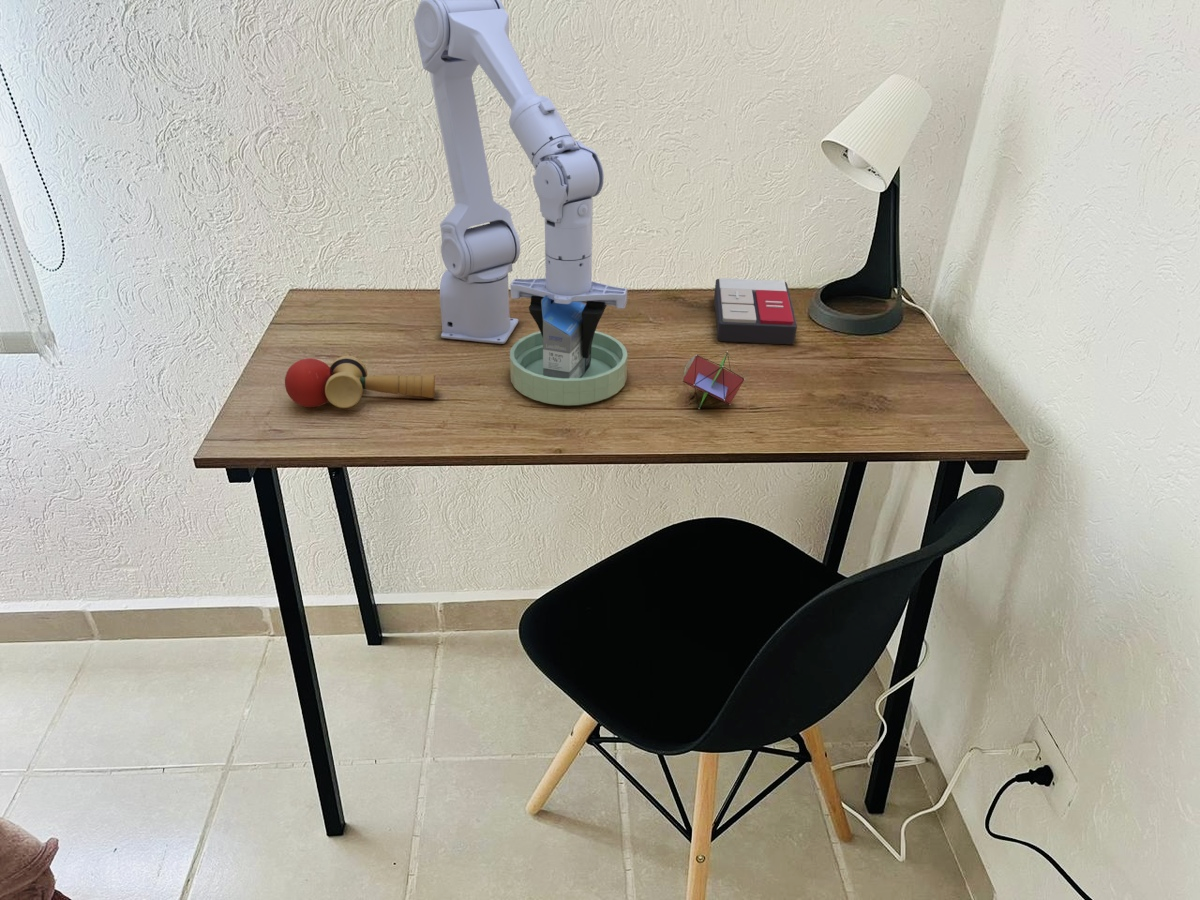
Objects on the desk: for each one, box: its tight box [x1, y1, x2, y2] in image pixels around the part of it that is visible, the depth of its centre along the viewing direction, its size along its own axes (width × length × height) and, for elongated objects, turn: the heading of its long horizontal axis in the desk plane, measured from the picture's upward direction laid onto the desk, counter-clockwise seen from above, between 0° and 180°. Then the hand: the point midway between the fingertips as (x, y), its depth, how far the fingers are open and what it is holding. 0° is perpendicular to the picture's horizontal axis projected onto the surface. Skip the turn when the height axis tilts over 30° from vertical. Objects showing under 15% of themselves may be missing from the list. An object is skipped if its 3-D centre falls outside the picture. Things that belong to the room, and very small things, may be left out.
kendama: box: [284, 355, 436, 409], centre depth 114 cm, size 8×6×18 cm
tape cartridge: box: [541, 295, 591, 378], centre depth 117 cm, size 9×4×12 cm, turn 162°
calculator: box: [713, 277, 798, 345], centre depth 136 cm, size 11×4×15 cm
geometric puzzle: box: [681, 350, 746, 410], centre depth 115 cm, size 7×7×8 cm
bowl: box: [509, 330, 629, 407], centre depth 120 cm, size 15×15×4 cm
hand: (568, 353), depth 119 cm, fingers closed on tape cartridge, 4 cm apart
